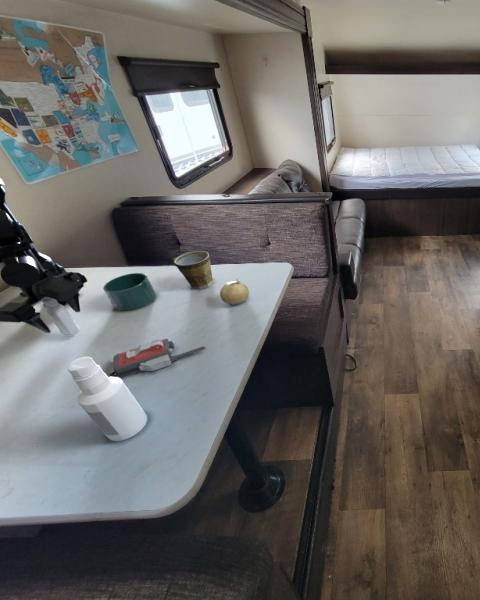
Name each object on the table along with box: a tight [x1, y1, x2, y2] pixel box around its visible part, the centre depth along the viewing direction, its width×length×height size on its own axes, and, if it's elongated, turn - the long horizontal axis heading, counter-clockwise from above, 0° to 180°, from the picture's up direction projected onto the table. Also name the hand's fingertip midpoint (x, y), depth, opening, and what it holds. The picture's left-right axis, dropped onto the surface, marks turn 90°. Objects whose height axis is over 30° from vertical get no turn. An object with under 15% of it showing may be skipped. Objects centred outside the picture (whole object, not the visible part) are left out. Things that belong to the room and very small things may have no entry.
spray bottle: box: [66, 356, 148, 442], centre depth 63 cm, size 7×7×18 cm
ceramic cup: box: [171, 250, 214, 290], centre depth 111 cm, size 13×10×10 cm
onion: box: [219, 277, 250, 306], centre depth 103 cm, size 8×8×7 cm
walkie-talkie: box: [108, 338, 206, 378], centre depth 83 cm, size 9×4×20 cm
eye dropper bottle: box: [41, 297, 81, 336], centre depth 88 cm, size 4×6×12 cm
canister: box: [102, 272, 157, 312], centre depth 104 cm, size 11×11×7 cm
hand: (63, 321), depth 89 cm, fingers closed on eye dropper bottle, 8 cm apart
